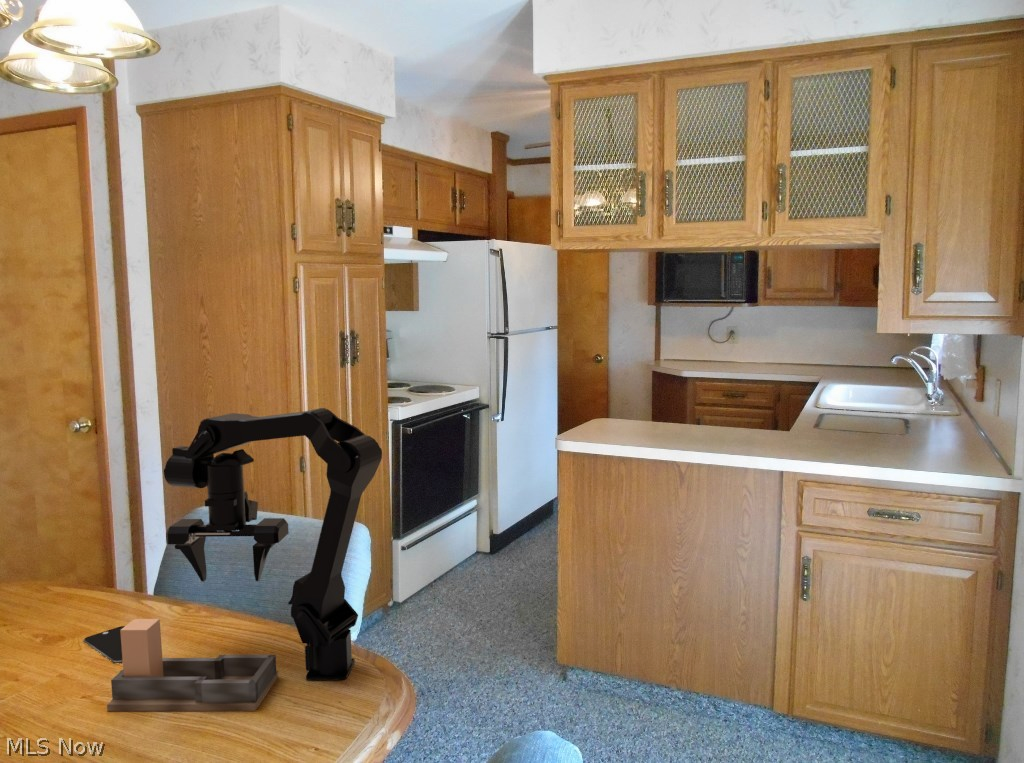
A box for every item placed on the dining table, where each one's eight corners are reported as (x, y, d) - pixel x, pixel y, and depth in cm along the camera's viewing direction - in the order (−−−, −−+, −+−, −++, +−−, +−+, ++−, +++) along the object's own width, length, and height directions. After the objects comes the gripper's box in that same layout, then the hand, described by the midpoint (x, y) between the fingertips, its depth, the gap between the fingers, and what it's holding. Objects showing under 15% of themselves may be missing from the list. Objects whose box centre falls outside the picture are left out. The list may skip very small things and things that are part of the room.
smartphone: (125, 624, 142) (161, 646, 132) (125, 628, 142) (162, 650, 132) (80, 638, 136) (115, 662, 126) (81, 642, 136) (116, 667, 126)
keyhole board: (277, 677, 121) (276, 653, 121) (255, 710, 111) (253, 684, 111) (142, 677, 122) (140, 653, 121) (107, 711, 112) (105, 685, 111)
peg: (163, 680, 118) (159, 618, 117) (151, 693, 114) (146, 630, 113) (138, 680, 119) (134, 618, 117) (125, 693, 115) (120, 630, 113)
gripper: (296, 478, 134) (300, 563, 136) (192, 479, 135) (197, 564, 136) (275, 494, 123) (279, 587, 125) (161, 495, 124) (167, 587, 125)
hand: (230, 580), depth 128 cm, fingers open, 9 cm apart
